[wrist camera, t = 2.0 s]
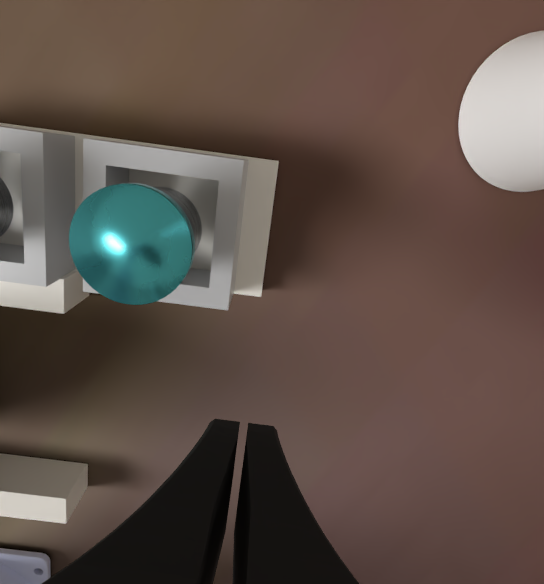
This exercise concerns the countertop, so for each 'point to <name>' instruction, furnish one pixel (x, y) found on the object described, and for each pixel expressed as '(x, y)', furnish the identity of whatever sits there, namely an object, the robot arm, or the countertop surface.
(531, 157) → the cosmetic bottle
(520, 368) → the countertop surface
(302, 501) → the robot arm
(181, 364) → the countertop surface
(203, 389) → the countertop surface
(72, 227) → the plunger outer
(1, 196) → the plunger inner
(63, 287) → the white knob panel
